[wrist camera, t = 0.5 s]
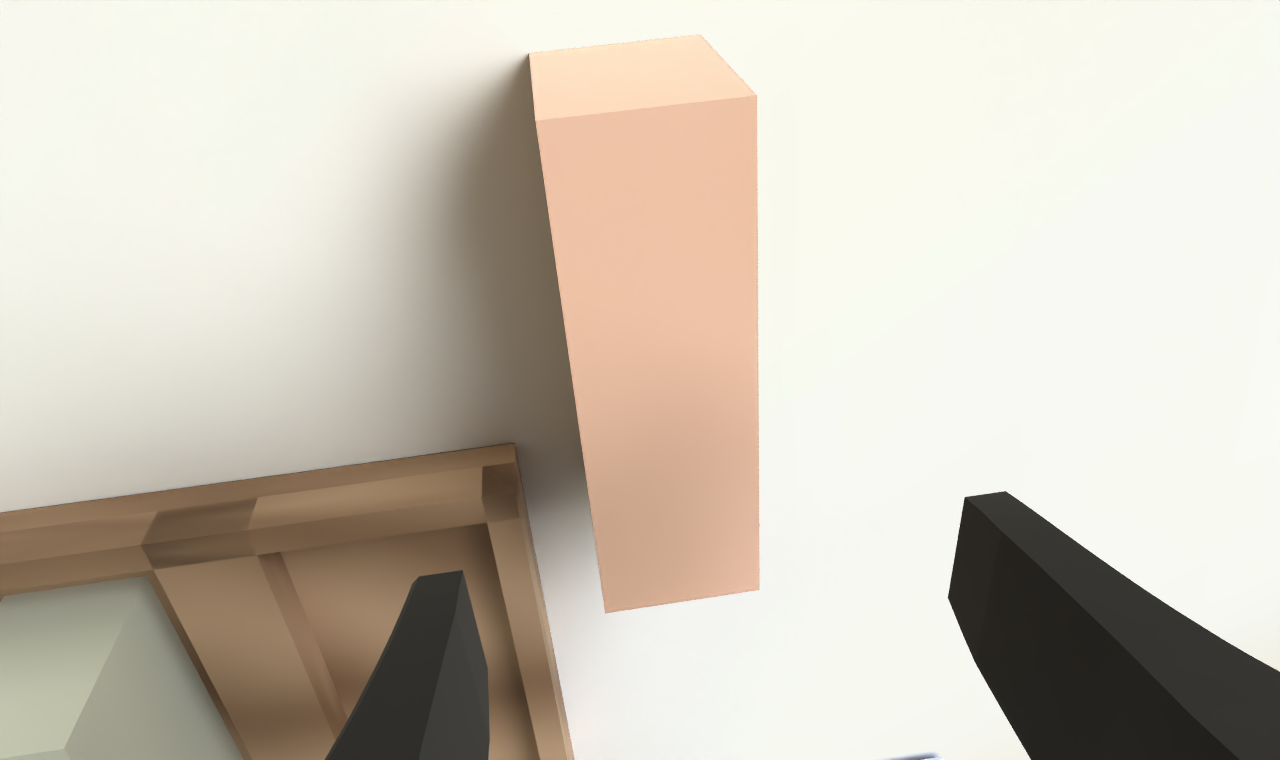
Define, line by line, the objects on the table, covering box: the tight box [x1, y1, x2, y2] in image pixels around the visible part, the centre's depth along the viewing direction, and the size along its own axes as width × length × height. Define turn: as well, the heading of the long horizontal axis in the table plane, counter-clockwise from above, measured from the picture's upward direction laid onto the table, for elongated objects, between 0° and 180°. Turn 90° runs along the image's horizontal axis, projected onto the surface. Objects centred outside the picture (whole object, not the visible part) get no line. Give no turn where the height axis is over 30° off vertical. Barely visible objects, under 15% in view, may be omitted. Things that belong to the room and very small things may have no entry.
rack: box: [0, 443, 574, 760], centre depth 25 cm, size 15×15×2 cm
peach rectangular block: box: [529, 35, 759, 613], centre depth 19 cm, size 11×4×5 cm, turn 5°
